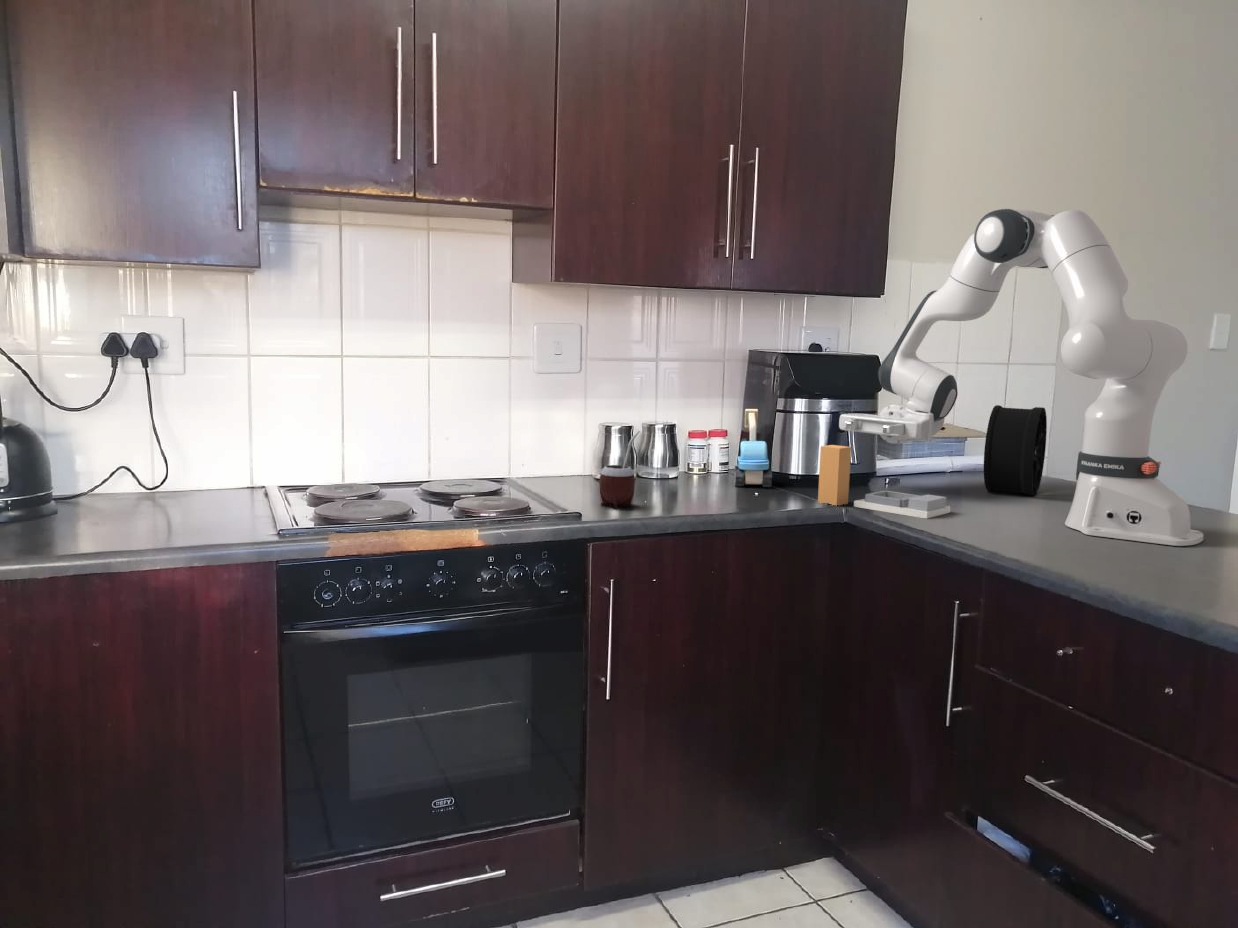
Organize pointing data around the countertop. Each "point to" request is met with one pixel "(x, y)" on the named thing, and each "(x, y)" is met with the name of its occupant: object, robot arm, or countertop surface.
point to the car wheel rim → (1015, 449)
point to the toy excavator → (753, 457)
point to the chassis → (904, 504)
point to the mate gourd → (618, 483)
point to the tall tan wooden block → (834, 474)
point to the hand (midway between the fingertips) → (866, 427)
